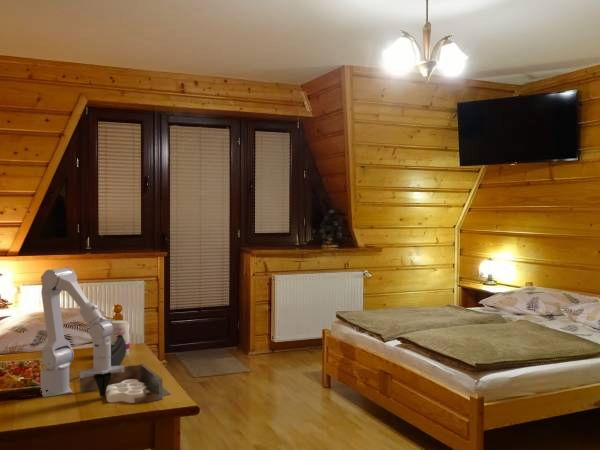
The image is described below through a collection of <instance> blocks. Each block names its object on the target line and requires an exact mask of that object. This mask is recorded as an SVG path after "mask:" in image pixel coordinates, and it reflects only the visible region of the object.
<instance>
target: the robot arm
mask: <svg viewBox="0 0 600 450" xmlns="http://www.w3.org/2000/svg"><path fill="white" fill-rule="evenodd" d="M40 280H41V291H40V292H41V299H42V300H41V301H42V306H43V313H44V314H43V316H44V321H45V328H46V329H45V330H46V335H47V336H46V337H47V342H46V343H45V345H44V346H43V347H42V357H41V362H42V365H43V366H44V368H42V369H40V372H39V374H40V377H39V378H40V384H39V385H40V386H39V387H40V388H41V389H40V388H39V389H40V390H41V391H42V393H41V395H42V397H43V398H47V397H51V396H52V397H53V396H58V395H59V396H60V395H66V394H72V393H73V390H72V389H71V388H70V366H71V363H72V361H74V356H75V353H74V350H73V348H72V346H71V342H70V341H69V340H68V339H66V338H65V333H64V325H63V316H62V310H61V303H60V294H61V292H67V294H68V295H69V297H71V299H72V300H73V301H74V302H75V303H76V304H77V306H78V307H79V308H80V309H79V315H80V316H81V317H82V318H83V320H84V322H85V323H86V324H87V326H88V327H89V330H88V334H89V337H90V338H91V343H92V347H93V348H92V349H93V351H92V353H93V354H92V355H93V357H92V359H93V361H92V362H93V364H92V365H93V367H92V368H88V369H85V370H80V371H79V379H80V378H84V377H88V376H93V377H94V379H95V381H96V383H97V385H98V389H99V390H98V391H99V396H100V397H106V394H105V393H106V389H107V386H108V383H109V381H110V379H111V373H116V372H124V366H125V365H121V364H120V366H111V335H112V334H113V332H114V325H113V323H112V320H110V319H107V318H106V317H104V315H103V314H102V313H101V311H100V309H99V308H98V305H97V304H95V303H94V302H90V301H89V299H88V298H87V296H86V294H85V293H84V291H83V290H82V287H81V286H80V284H79V282H78V276H77V274H76V272H75V271H74V269H72V268H71V267H69V266H67V267H66V266H65V267H62V268H61V267H60V268H53V269H46V270H45V271H44V272H43V273H42V275H41V276H40ZM46 390H48V391H46ZM41 391H40V392H41Z"/></svg>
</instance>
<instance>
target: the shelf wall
mask: <svg viewBox="0 0 600 450" xmlns="http://www.w3.org/2000/svg"><path fill="white" fill-rule="evenodd" d="M140 364H141V363H139V364H130V365H123V366H124V372H116V373H111V379H110V381H109V383H108V385H112V384H118V383H121V382H122V381H125V380H130V379H136V380H138V382H141V365H140ZM93 391H94V392H95V391H99V389H98V385H97V383H96V381H95V379H94V377H93V376H88V377H84V378H80V377H79V393H80V394H81V393H88V392H89V393H90V392H93ZM154 401H159V394H146V396H141V397H135V403H134V404H136V405H138V404H143V403H149V402H154Z"/></svg>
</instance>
